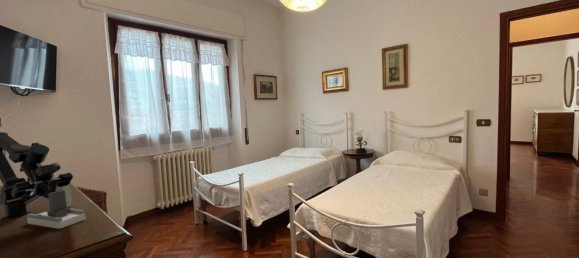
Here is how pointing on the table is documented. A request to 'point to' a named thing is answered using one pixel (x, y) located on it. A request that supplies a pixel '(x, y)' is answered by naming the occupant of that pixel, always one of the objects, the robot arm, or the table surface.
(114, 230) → the table surface
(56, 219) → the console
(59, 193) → the slider
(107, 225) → the table surface
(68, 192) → the skincare box
